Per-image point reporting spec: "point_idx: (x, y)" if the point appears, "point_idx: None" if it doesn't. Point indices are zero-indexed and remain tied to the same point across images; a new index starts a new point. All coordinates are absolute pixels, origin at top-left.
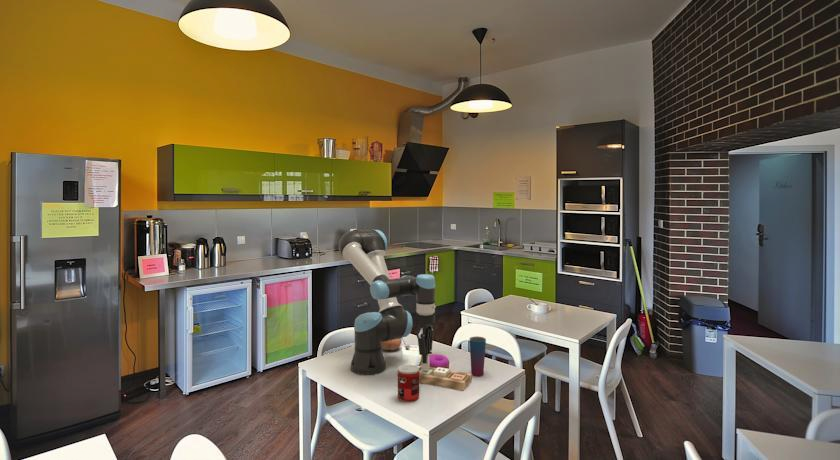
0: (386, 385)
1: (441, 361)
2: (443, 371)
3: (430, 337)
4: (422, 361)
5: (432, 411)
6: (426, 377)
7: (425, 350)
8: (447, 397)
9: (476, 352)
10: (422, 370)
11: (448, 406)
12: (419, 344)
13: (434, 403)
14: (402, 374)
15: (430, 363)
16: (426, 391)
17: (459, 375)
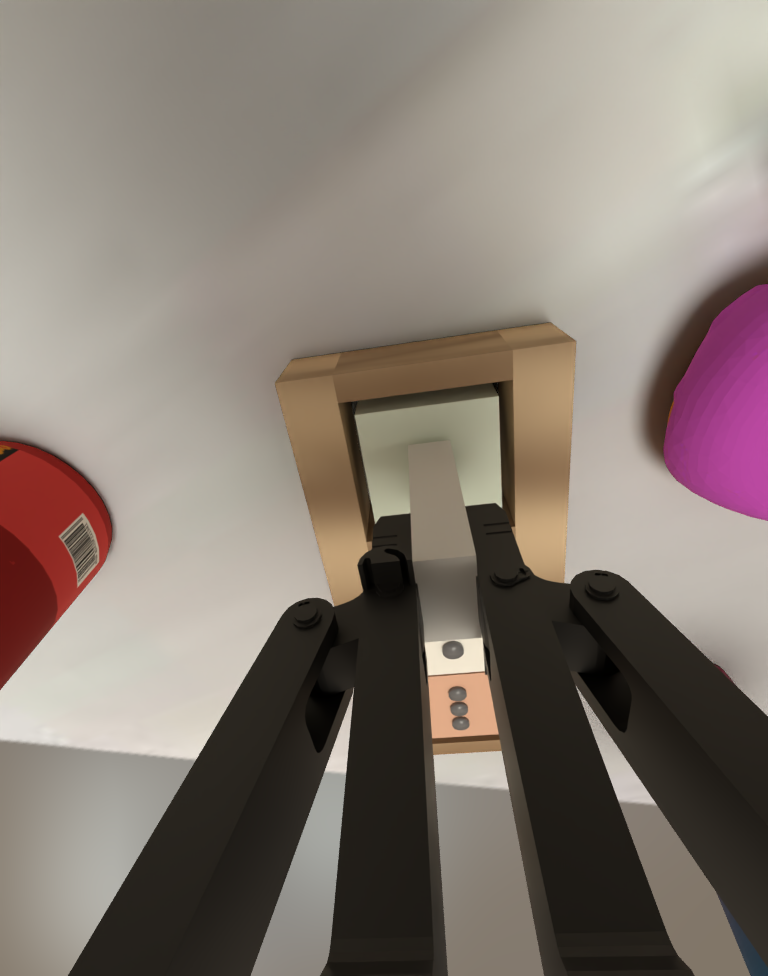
0: (16, 179)
1: (752, 500)
2: (428, 655)
3: (761, 926)
4: (373, 533)
5: (39, 687)
6: (318, 531)
7: (323, 746)
8: (236, 681)
9: (729, 917)
10: (429, 434)
11: (150, 718)
12: (166, 850)
13: (117, 661)
14: None
15: (702, 386)
16: (212, 559)
17: (484, 707)
